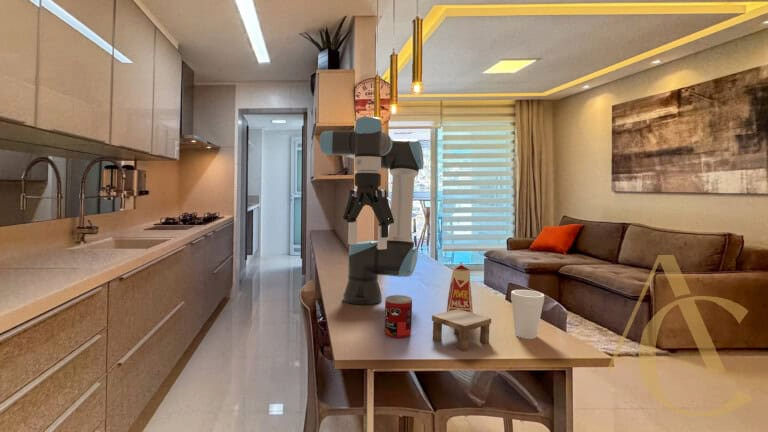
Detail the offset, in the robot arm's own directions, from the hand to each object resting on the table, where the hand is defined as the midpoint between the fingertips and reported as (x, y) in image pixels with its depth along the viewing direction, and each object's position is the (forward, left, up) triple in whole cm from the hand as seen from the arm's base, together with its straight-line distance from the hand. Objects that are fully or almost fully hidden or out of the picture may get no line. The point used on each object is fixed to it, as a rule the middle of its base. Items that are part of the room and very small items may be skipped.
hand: (366, 246), depth 119 cm
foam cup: (+28, +41, -27) cm, 56 cm away
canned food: (+4, +10, -27) cm, 29 cm away
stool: (+19, +21, -27) cm, 39 cm away
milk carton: (+4, +39, -27) cm, 47 cm away
